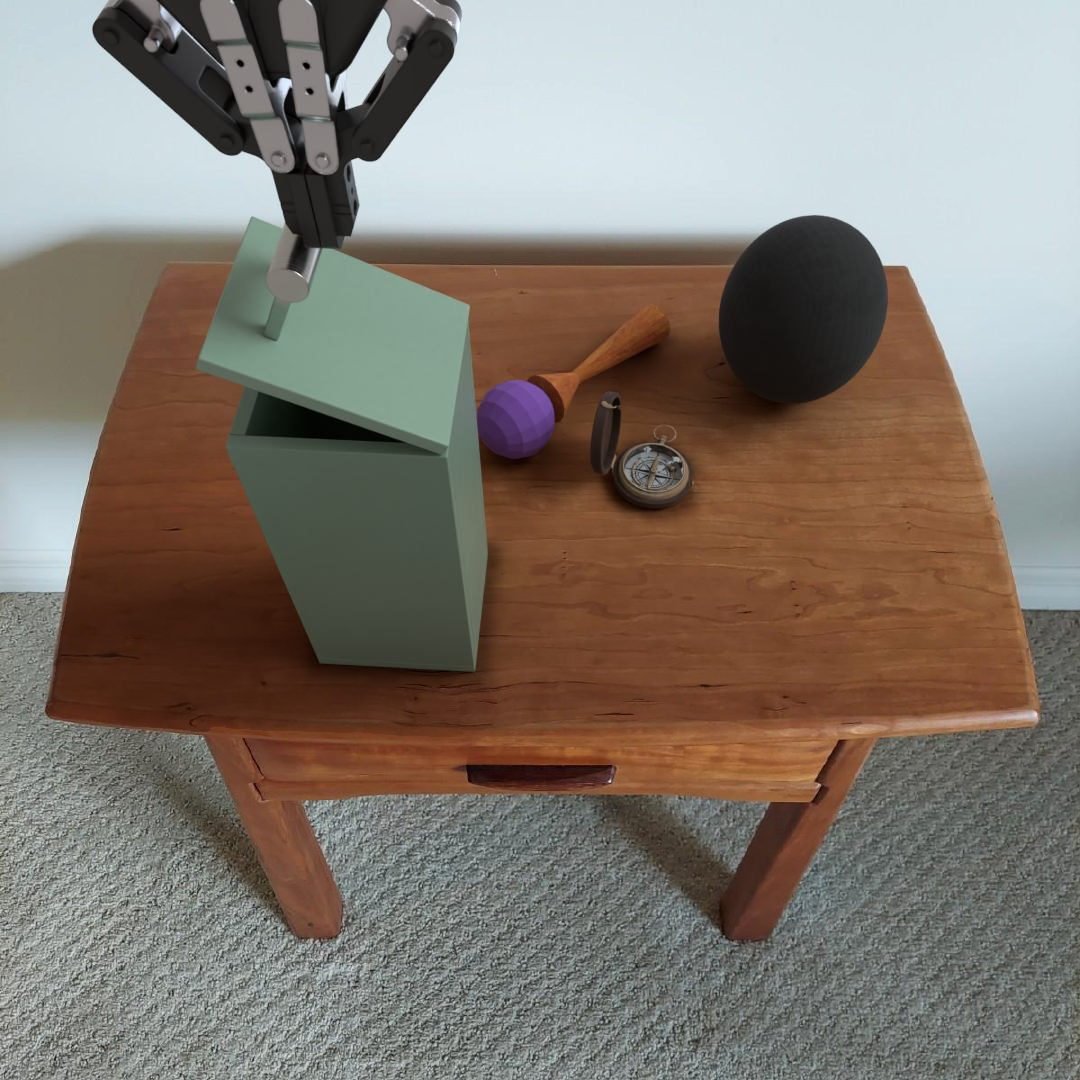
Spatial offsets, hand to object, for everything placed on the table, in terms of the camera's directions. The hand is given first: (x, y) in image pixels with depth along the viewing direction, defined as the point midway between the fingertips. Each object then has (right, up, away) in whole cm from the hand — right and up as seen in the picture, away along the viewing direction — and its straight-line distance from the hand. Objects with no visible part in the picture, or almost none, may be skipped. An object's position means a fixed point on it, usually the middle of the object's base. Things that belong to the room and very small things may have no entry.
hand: (328, 236), depth 39 cm
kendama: (+12, -1, +37) cm, 39 cm away
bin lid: (0, -3, +5) cm, 6 cm away
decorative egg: (+29, 0, +38) cm, 48 cm away
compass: (+17, -7, +33) cm, 38 cm away
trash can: (0, -18, +26) cm, 31 cm away
